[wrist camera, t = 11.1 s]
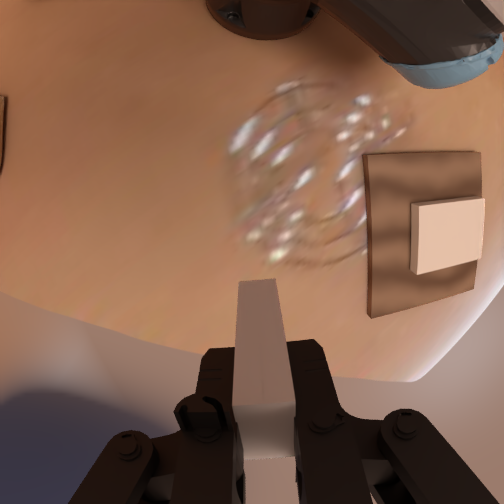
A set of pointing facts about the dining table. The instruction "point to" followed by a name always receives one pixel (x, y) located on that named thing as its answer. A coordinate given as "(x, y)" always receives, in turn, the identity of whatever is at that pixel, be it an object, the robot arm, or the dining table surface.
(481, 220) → the tile
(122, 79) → the dining table surface
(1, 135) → the tan ankle boot
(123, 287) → the dining table surface
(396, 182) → the board
